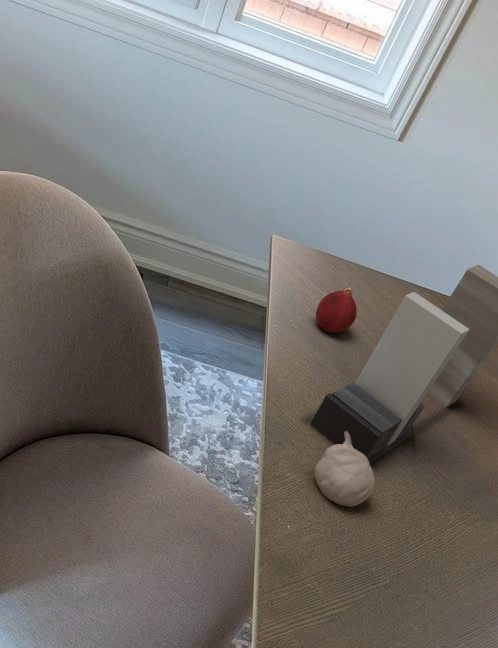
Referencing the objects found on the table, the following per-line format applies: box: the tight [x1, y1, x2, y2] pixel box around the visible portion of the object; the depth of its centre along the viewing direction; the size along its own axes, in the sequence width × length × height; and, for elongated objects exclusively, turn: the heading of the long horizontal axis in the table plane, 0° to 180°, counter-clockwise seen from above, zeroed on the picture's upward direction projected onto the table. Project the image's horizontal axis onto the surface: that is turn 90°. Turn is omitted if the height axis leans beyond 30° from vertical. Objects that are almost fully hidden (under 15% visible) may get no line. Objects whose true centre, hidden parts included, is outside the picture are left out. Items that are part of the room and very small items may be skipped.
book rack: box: [307, 264, 498, 464], centre depth 97 cm, size 26×9×19 cm, turn 133°
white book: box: [354, 291, 470, 446], centre depth 94 cm, size 2×8×18 cm, turn 43°
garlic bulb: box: [313, 431, 376, 508], centre depth 87 cm, size 7×6×8 cm
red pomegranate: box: [315, 287, 358, 334], centre depth 113 cm, size 6×6×8 cm
